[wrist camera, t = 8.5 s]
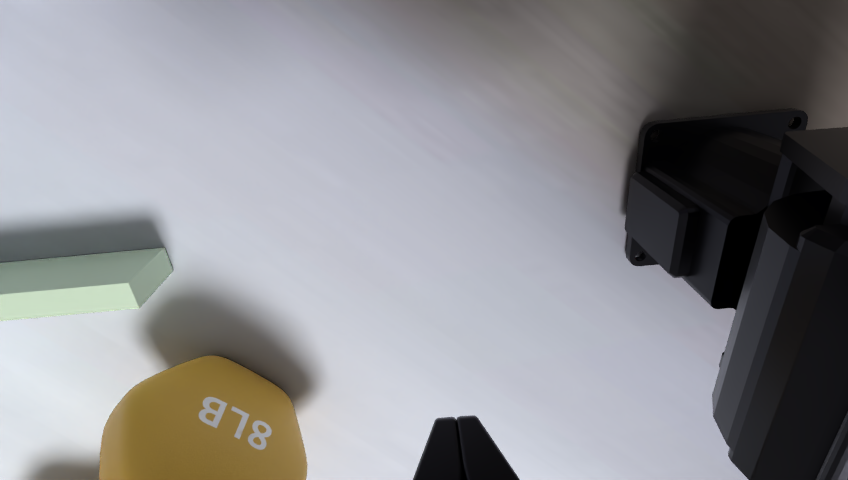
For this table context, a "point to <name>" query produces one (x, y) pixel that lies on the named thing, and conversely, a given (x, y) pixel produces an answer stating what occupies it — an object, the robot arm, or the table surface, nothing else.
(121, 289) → the green pocket
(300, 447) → the dumbbell
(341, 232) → the table surface
